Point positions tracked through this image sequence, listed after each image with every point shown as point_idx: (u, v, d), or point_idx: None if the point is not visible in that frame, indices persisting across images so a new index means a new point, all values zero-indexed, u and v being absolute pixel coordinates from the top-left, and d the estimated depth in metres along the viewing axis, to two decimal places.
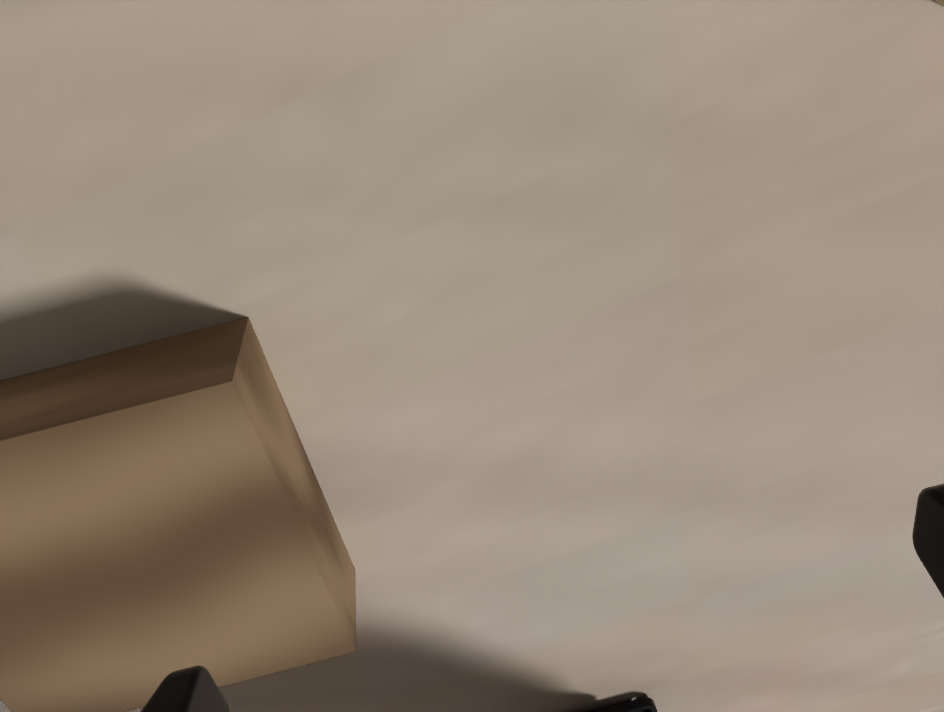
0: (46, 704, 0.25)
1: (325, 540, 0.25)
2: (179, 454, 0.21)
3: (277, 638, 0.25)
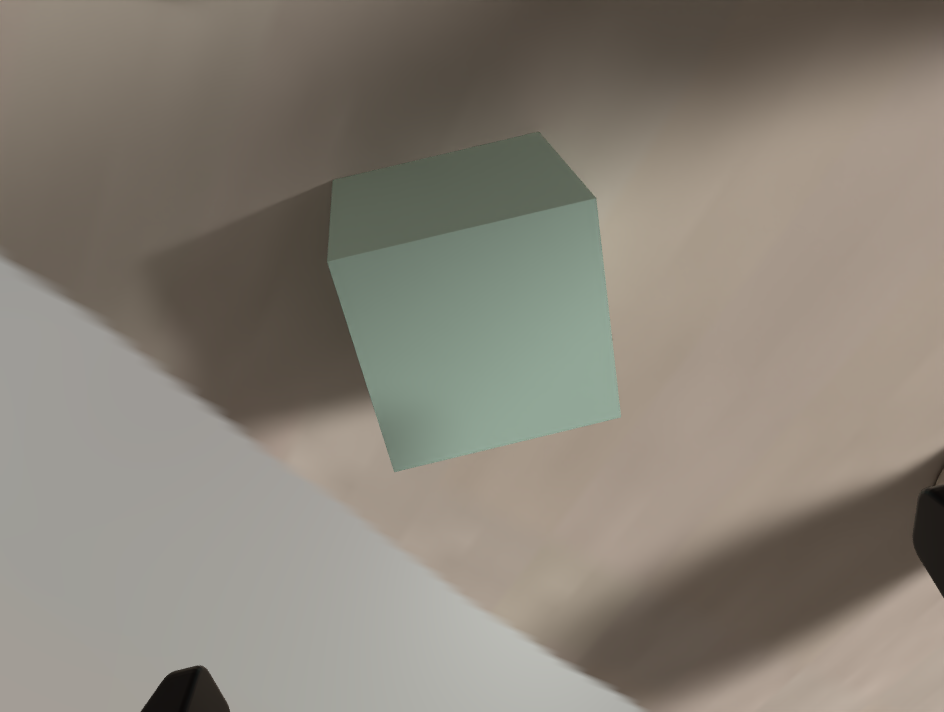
0: None
1: None
2: None
3: None
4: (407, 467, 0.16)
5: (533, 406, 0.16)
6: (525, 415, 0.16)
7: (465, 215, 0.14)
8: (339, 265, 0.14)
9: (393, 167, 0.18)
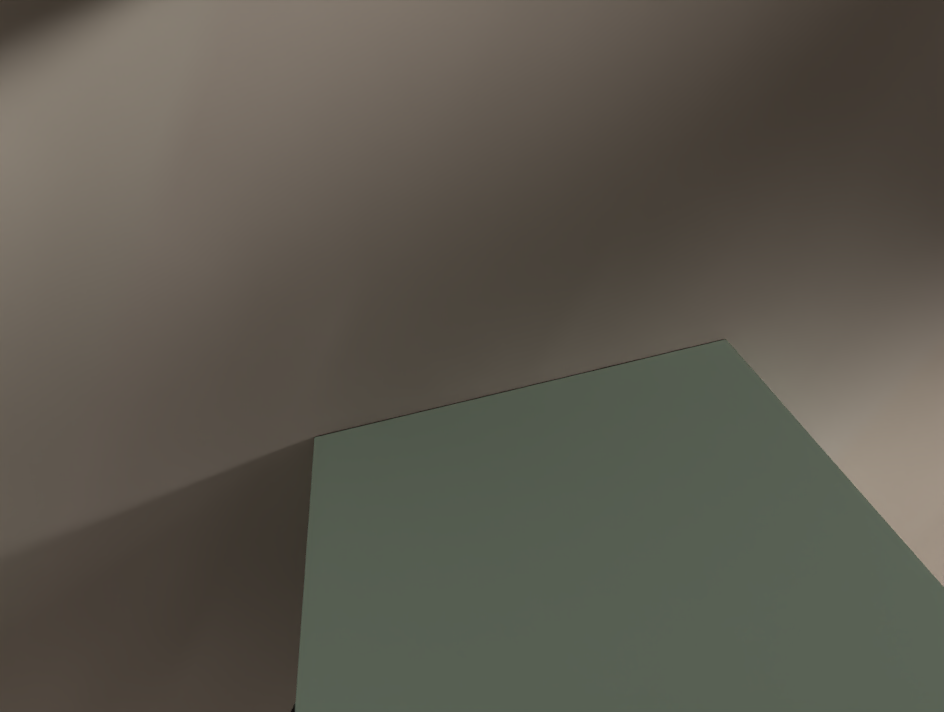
0: None
1: None
2: None
3: None
4: None
5: None
6: None
7: None
8: None
9: (437, 418, 0.09)
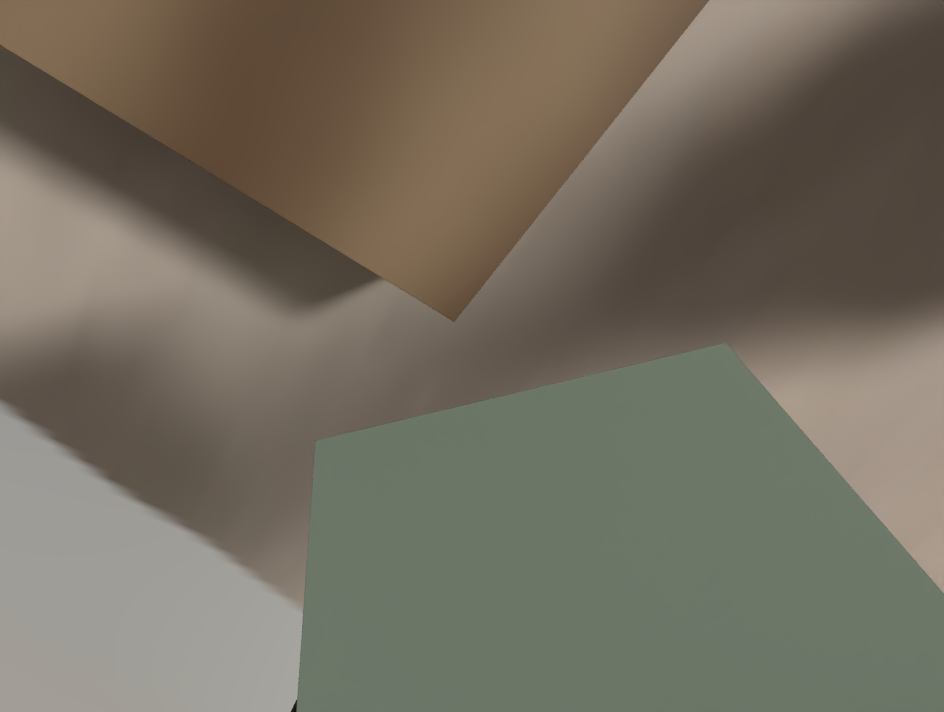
0: (436, 246, 0.15)
1: None
2: None
3: None
4: None
5: None
6: None
7: None
8: None
9: (437, 422, 0.09)
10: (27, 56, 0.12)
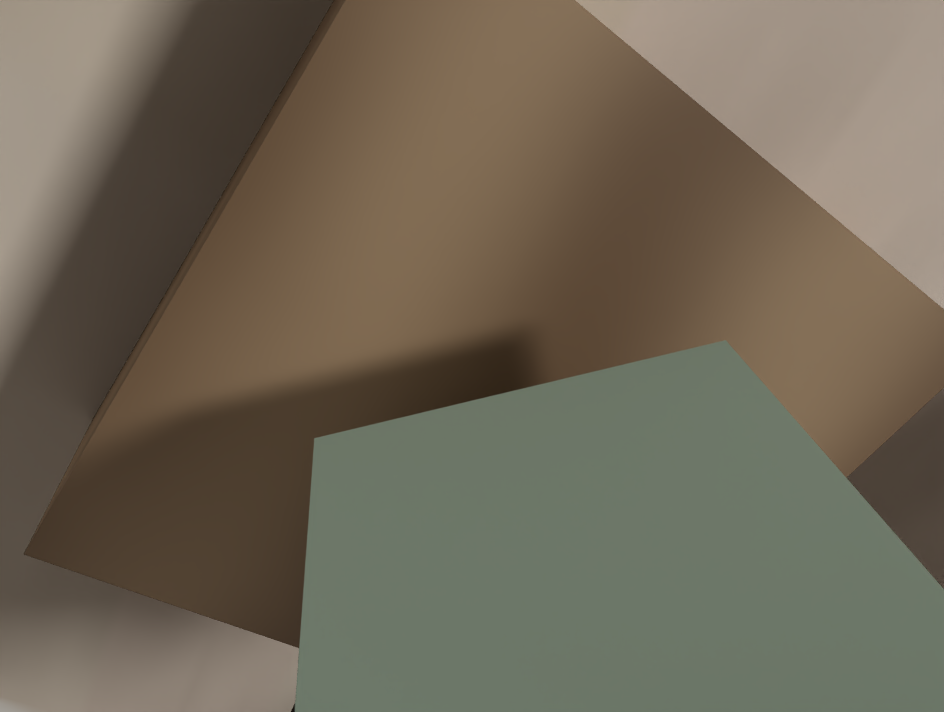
0: None
1: None
2: (442, 134, 0.09)
3: (831, 401, 0.12)
4: None
5: None
6: None
7: None
8: None
9: (437, 419, 0.09)
10: (176, 602, 0.13)
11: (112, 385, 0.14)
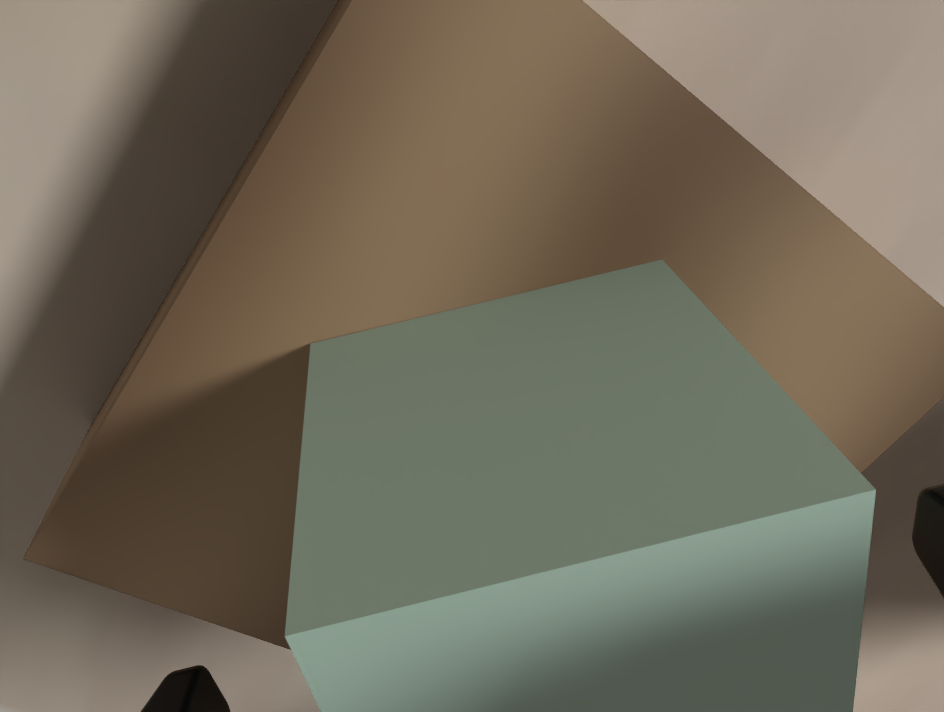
0: None
1: None
2: (449, 135, 0.09)
3: (837, 405, 0.12)
4: None
5: None
6: None
7: (580, 506, 0.07)
8: (312, 639, 0.06)
9: (415, 325, 0.10)
10: (177, 607, 0.13)
11: (112, 388, 0.14)
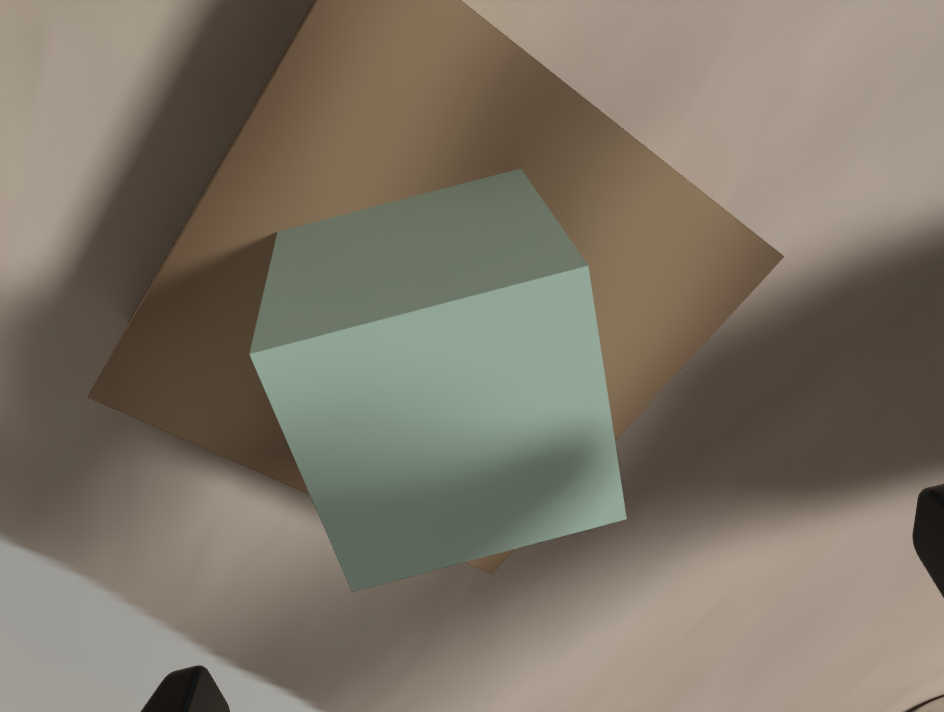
0: None
1: None
2: (381, 93, 0.14)
3: (672, 296, 0.17)
4: (367, 586, 0.13)
5: (519, 511, 0.13)
6: (509, 522, 0.13)
7: (426, 288, 0.11)
8: (265, 358, 0.11)
9: (348, 216, 0.15)
10: (195, 441, 0.17)
11: None
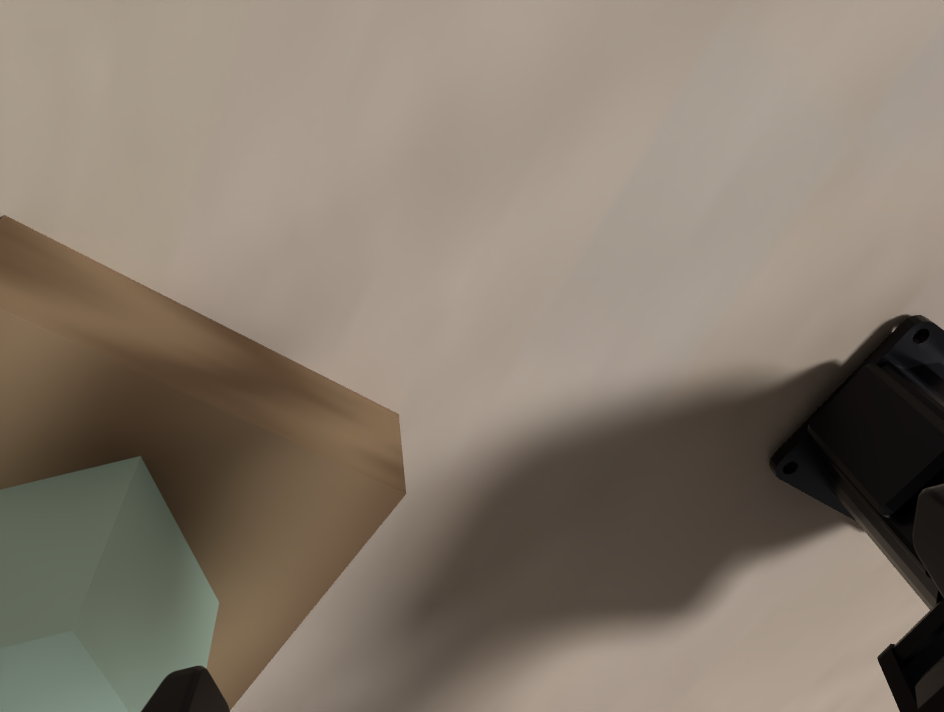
0: None
1: (288, 395, 0.19)
2: None
3: (308, 528, 0.19)
4: None
5: None
6: None
7: None
8: None
9: None
10: None
11: None
